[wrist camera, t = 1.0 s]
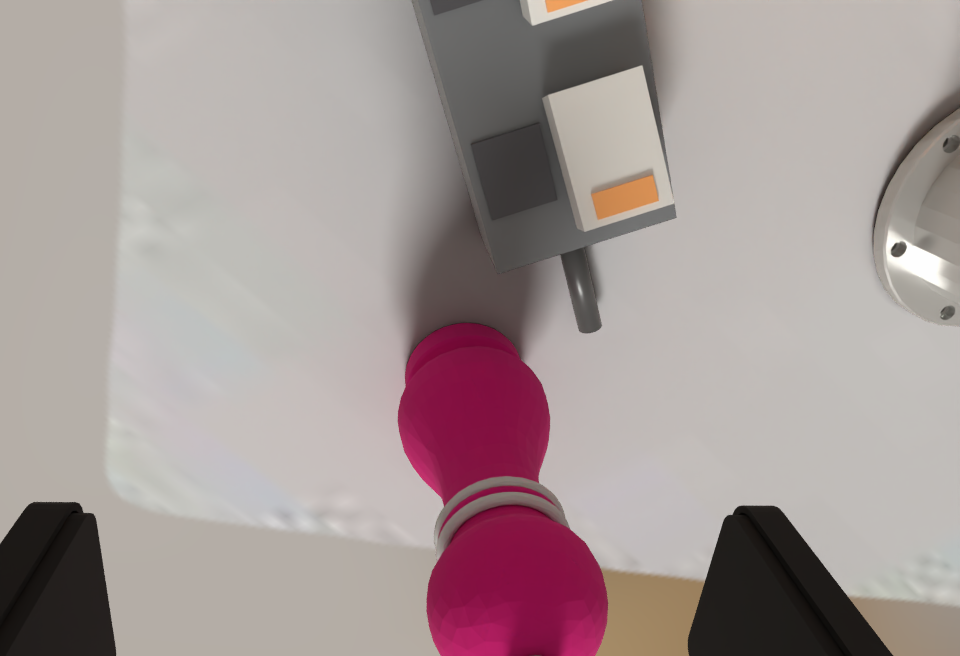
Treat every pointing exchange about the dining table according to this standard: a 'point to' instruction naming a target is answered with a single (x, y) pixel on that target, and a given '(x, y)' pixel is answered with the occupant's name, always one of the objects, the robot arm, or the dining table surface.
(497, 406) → the pepper mill
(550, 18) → the block
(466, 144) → the power strip
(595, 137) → the plate
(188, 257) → the dining table surface
